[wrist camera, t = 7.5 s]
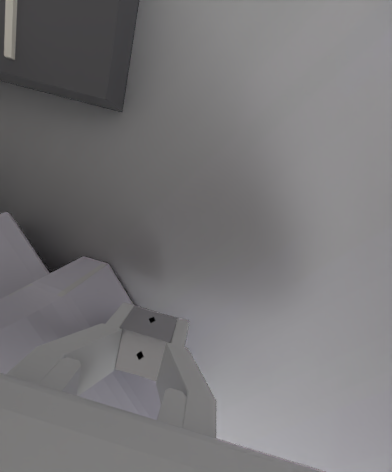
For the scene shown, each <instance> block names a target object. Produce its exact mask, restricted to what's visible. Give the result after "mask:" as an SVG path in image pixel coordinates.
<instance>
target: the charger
mask: <svg viewBox="0 0 392 472" xmlns="http://www.w3.org/2000/svg"><path fill="white" fill-rule="evenodd" d="M124 302H126V303H130V304H133V303H132V301H131V300H130V298H129V296H128V295H127V293H126V291H125V290H124V288H123V286H122V285H121V283H120V282H119V280H118V278H117V277H116V275H115V273H114V272H113V270H112V268H111V267H110V265H109V263H105V262H102V261H98V260H95V259H92V258H88V257H85V256H83V257H81V258H79V259H77V260H75V261H73V262H71V263H69V264H67V265H65V266H63V267H61V268H59V269H57V270H55V271H54V272H52V273H49V271H48V270H47V268H46V267H45V265H44V264H43V262H42V261H41V259H40V258H39V256H38V255H37V253H36V252H35V250H34V249H33V247H32V245H31V244H30V242H29V241H28V239H27V238H26V236H25V235H24V233H23V232H22V230H21V229H20V227H19V226H18V224H17V223H16V221H15V220H14V218H13V217H12V215H11V214H10V213H8V212H4V213H1V214H0V373H3V374H6V373H8V372H9V371H10V370H11V369H12V368H13V367H14V366H16V365H17V364H18V363H19V362H20V361H21V360H22V359H23V358H25V357H26V356H27V355H28V354H29V353H30V352H31V351H32V350H34V349H35V348H36V347H37V346H40V345H43V344H46V343H48V342H51V341H54V340H57V339H59V338H62V337H65V336H68V335H70V334H73V333H76V332H79V331H81V330H84V329H87V328H90V327H93V326H95V325H98V324H101V323H103V324H106V323H107V321H108V320H109V319H110V318H111V316H112V315H113V314H114V313H115V312H116V310H117V309H118V308H119V307H120V305H121V304H122V303H124ZM79 397H82V398H86V399H89V400H92V401H96V402H99V403H102V404H105V405H109V406H112V407H115V408H118V409H122V410H125V411H128V412H132V413H135V414H138V415H141V416H145V417H148V418H151V419H154V420H157V418H158V414H159V411H160V407H161V403H160V398H159V394H158V390H157V385H156V381H153V380H150V379H147V378H144V377H141V376H138V375H135V374H131V373H127V372H123V371H120V370H116V369H114V371H113V372H111V373H110V374H109V375H107V376H106V377H104V378H103V379H102V380H100V381H99V382H97V383H96V384H95V385H93V386H92V387H90V388H89V389H88V390H86V391H85V392H83V393H82V394H81V395H79Z"/></svg>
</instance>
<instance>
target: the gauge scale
mask: <svg viewBox="0 0 392 472" xmlns="http://www.w3.org/2000/svg"><path fill="white" fill-rule="evenodd" d="M138 4H139V0H0V81H3V82H7V83H11V84H15V85H19V86H23V87H27V88H31V89H35V90H38V91H42V92H46V93H50V94H54V95H58V96H62V97H66V98H70V99H73V100H77V101H81V102H85V103H89V104H93V105H97V106H101V107H105V108H108V109H112V110H116V111H120V112H122V109H123V102H124V96H125V89H126V83H127V76H128V70H129V63H130V57H131V50H132V44H133V37H134V30H135V24H136V17H137V11H138Z"/></svg>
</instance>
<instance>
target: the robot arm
mask: <svg viewBox="0 0 392 472" xmlns="http://www.w3.org/2000/svg"><path fill="white" fill-rule="evenodd" d="M177 319H178V320H177ZM188 327H189V320H185V319H181V318H176V317H173V316H169V315H165V314H162V313H158V312H156V311H152V310H149V309H146V308H143V307H140V306H136V305H133V304H130V303H126V302H124V303H122V304H121V305H120V307H119V308H118V309H117V310H116V312H115V313H114V314H113V315H112V316H111V318H110V319H109V320H108V321H107V323H106V324H103V323H101V324H98V325H95V326H93V327H90V328H87V329H84V330H81V331H79V332H76V333H73V334H70V335H68V336H65V337H62V338H59V339H57V340H54V341H51V342H48V343H46V344H43V345H40V346H37V347H36V348H35V349H34V350H32V351H31V352H30V353H29V354H28V355H27V356H26V357H25V358H23V359H22V360H21V361H20V362H19V363H18V364H17V365H16V366H14V367H13V368H12V369H11V370H10V371H9V372H8V373H6V374H3V373H0V472H325V471H322V470H319V469H315V468H312V467H309V466H306V465H302V464H299V463H296V462H292V461H289V460H286V459H283V458H279V457H276V456H273V455H269V454H266V453H263V452H260V451H256V450H253V449H250V448H246V447H243V446H240V445H237V444H233V443H230V442H227V441H223V440H220V439H217V438H216V399H215V397H214V396H213V394H212V392H211V390H210V388H209V386H208V385H207V383H206V381H205V379H204V377H203V375H202V373H201V372H200V370H199V368H198V366H197V364H196V362H195V360H194V359H193V357H192V355H191V353H190V351H189V349H188V348H186V347H185V342H186V337H187V332H188ZM114 369H116V370H120V371H123V372H127V373H131V374H135V375H138V376H141V377H144V378H147V379H150V380H153V381H156V385H157V390H158V394H159V398H160V403H161V407H160V411H159V414H158V418H157V420H154V419H151V418H148V417H145V416H141V415H138V414H135V413H132V412H128V411H125V410H122V409H118V408H115V407H112V406H109V405H105V404H102V403H99V402H96V401H92V400H89V399H86V398H82V397H79V395H81V394H82V393H83V392H85V391H86V390H88V389H89V388H90V387H92V386H93V385H95V384H96V383H97V382H99V381H100V380H102V379H103V378H104V377H106V376H107V375H109V374H110V373H111V372H113V371H114Z"/></svg>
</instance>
